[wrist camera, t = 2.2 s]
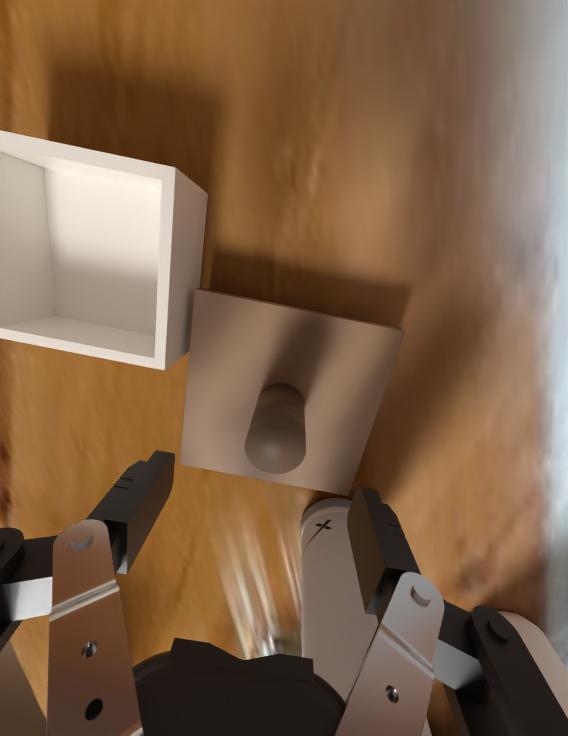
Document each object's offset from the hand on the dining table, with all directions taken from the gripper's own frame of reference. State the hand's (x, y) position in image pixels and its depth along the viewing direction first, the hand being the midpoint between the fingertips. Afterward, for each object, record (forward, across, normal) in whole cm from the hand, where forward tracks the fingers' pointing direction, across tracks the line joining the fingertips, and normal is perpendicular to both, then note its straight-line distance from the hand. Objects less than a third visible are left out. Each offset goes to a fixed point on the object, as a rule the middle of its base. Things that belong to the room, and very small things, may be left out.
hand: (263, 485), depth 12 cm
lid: (+9, 0, 0) cm, 9 cm away
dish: (+10, +12, -7) cm, 17 cm away
